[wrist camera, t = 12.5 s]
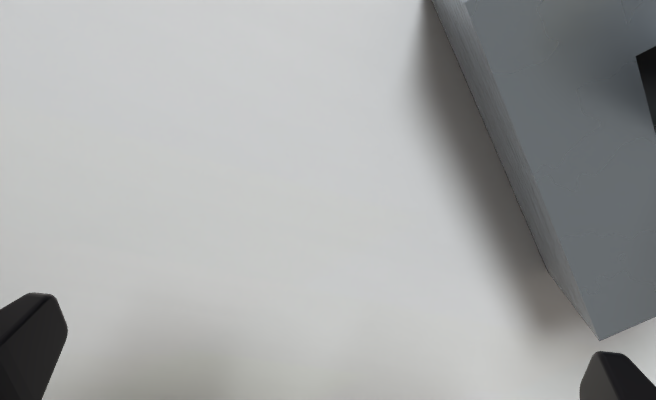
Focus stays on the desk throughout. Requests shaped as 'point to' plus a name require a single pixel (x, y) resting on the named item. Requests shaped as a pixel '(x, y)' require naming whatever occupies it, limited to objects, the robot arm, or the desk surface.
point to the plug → (649, 78)
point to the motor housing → (572, 138)
